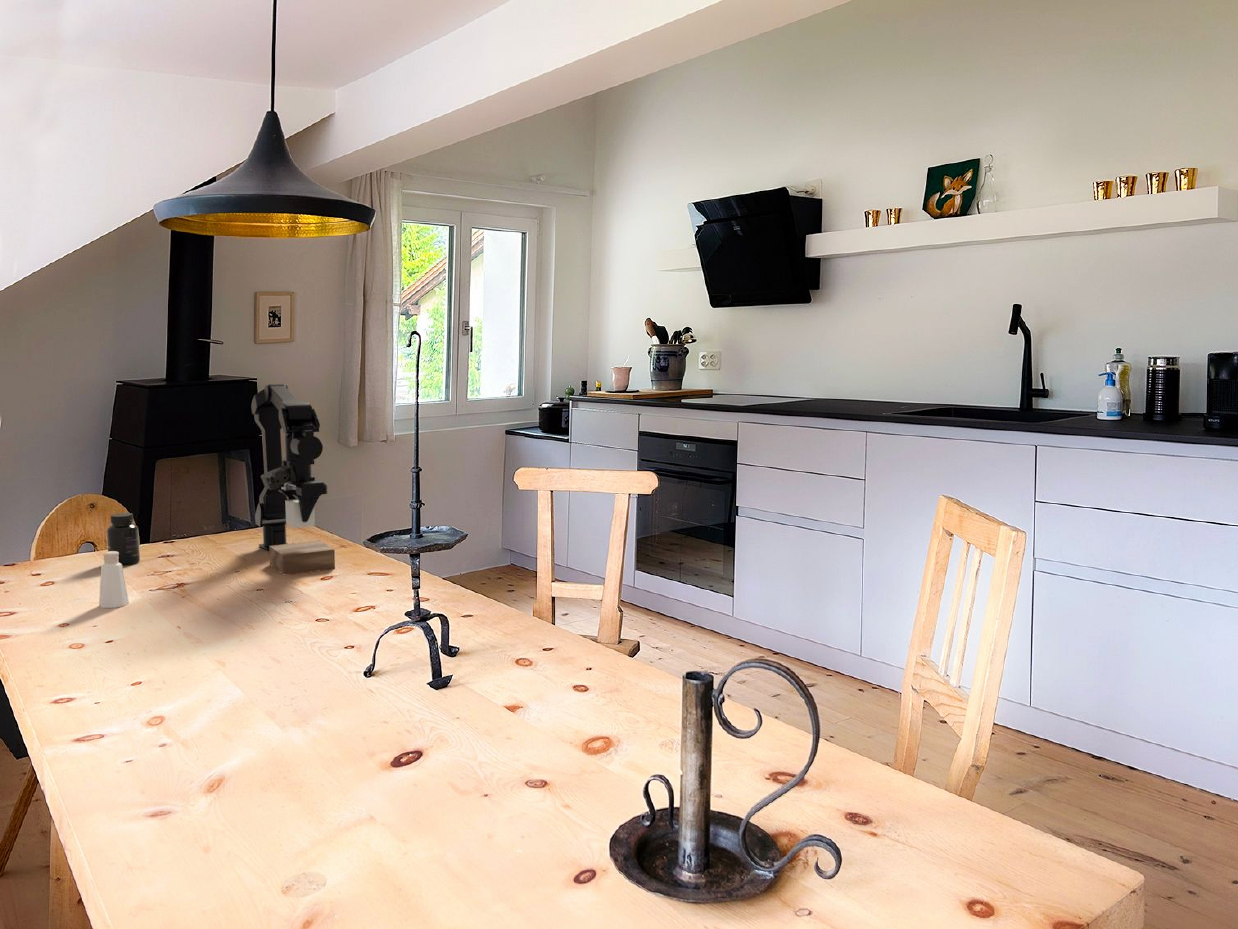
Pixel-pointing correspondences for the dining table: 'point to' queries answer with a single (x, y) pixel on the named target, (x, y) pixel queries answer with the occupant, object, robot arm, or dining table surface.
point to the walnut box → (302, 557)
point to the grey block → (297, 515)
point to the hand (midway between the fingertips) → (300, 520)
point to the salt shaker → (112, 582)
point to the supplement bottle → (124, 538)
